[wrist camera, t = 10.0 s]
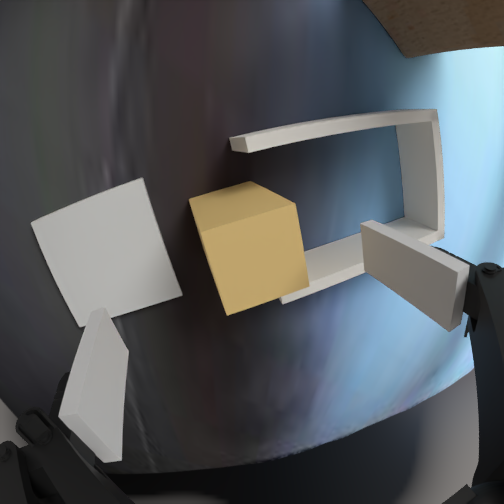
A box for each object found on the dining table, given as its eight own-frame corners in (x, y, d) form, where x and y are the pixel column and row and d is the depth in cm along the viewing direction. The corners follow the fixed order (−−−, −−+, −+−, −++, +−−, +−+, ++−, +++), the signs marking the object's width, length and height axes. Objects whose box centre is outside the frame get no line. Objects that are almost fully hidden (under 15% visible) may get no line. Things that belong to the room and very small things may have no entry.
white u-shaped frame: (229, 137, 22) (244, 137, 17) (400, 109, 25) (436, 109, 20) (262, 276, 27) (282, 304, 22) (411, 223, 29) (444, 237, 25)
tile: (33, 220, 20) (30, 222, 19) (143, 177, 21) (142, 178, 21) (81, 323, 24) (79, 327, 23) (182, 292, 25) (182, 295, 25)
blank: (188, 199, 23) (200, 232, 15) (250, 180, 24) (295, 203, 15) (206, 257, 25) (226, 315, 17) (263, 238, 26) (309, 286, 17)
